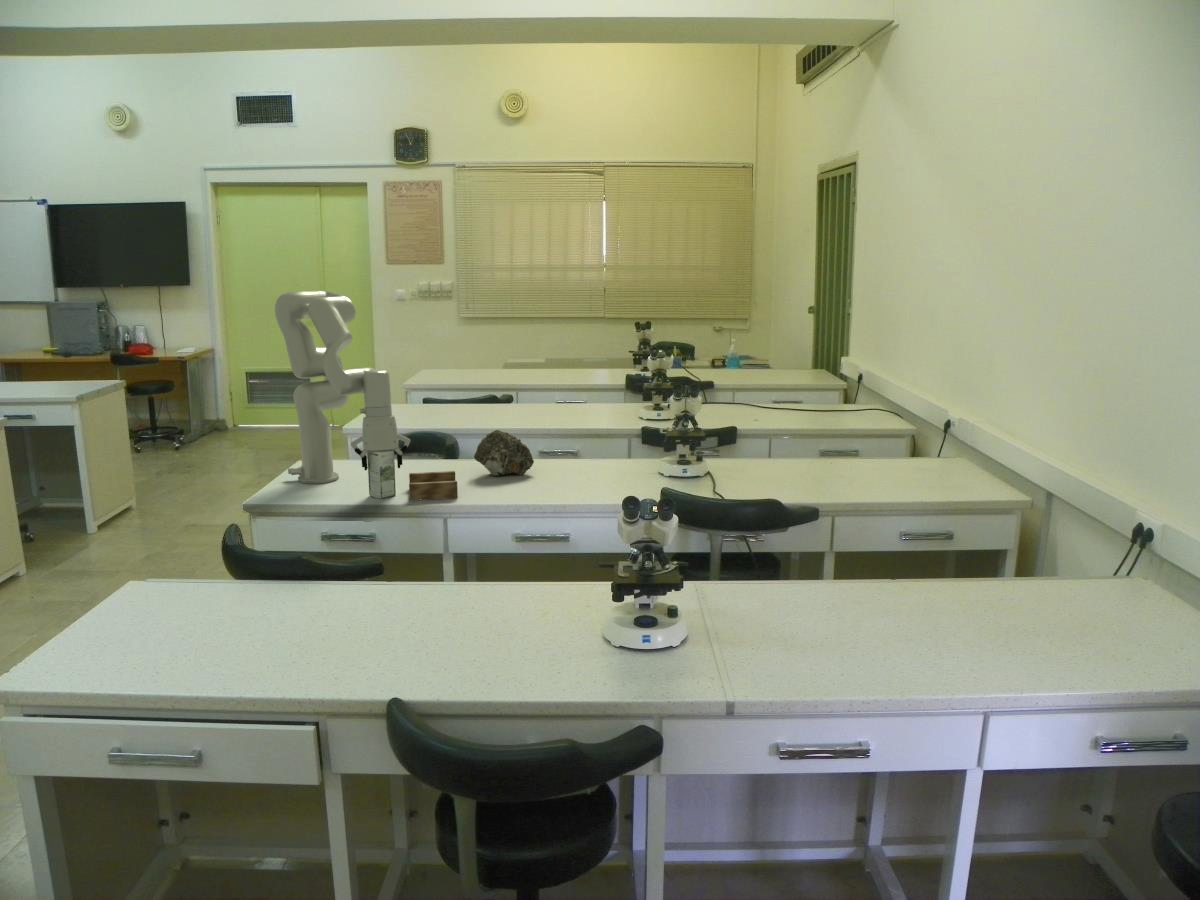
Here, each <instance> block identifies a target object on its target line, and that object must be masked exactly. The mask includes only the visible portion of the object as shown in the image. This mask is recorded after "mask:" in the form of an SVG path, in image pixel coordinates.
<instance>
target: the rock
mask: <svg viewBox="0 0 1200 900" xmlns="http://www.w3.org/2000/svg"><path fill="white" fill-rule="evenodd" d="M521 441H522V439H520V438H519V439H518V438H517V437H516V436H513V435H512V434H510V433H509V432H507V431H506V432H505V431H504V432H503V431H502V430H500V429H495V430H493V431H491V432H490V433H487V434H486V437H483V438H482V439H481V441H480V442H479V444H478V445H477V447H476V451H475V453H474V455H473V458H474V460H475V461H477V462H478V463H480V465H483V467H484V468H485V469H486V470H487V471H488V472H489V473H490V474H492V475H493V477H497V476H496V475H500V476H505V475H509V474H511V473H513V474H514V473H516V474H517V473H518V474H517V475H521V474H523V475H525V474H526V472H527V471H528V470H530V469H531V468H532V466H533V465H534V462H535V460H534V459H533V456H532V453H531V450H530V449H529V448H528V447H527V445H526V444H524V443H523V442H521Z"/></svg>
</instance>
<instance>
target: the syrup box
mask: <svg viewBox="0 0 1200 900" xmlns="http://www.w3.org/2000/svg"><path fill="white" fill-rule="evenodd" d="M366 456H367V467H368V468H367V474H368V493H369V495H370V496H369V495H368V496H369V497H371V496H373V497H372V498H375V497H376V499H379V498H380V500H383V499H387V498H390V497H391V498H392V497H395V496H396V489H397V488H396V467H395V466H396V465H395V464H396V462H395V450H385V451H368V452H367V453H366Z"/></svg>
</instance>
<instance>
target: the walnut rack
mask: <svg viewBox="0 0 1200 900" xmlns="http://www.w3.org/2000/svg"><path fill="white" fill-rule="evenodd" d="M408 474H409V475H408V477H409V478H408V479H409V482H408V483H409V484H408V488H409V489H408V491H409V501H410V500H413V501H425V500H424V499H431V500H442V499H441V498H450V499H458V497H459V496H458V495H459V494H458V481H457V480H456V470H449V471H447V470H446V471H445V470H444V471H429V472H427V471H426V472H424V471H423V472H409V473H408ZM420 499H422V500H420Z"/></svg>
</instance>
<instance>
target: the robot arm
mask: <svg viewBox="0 0 1200 900" xmlns="http://www.w3.org/2000/svg"><path fill="white" fill-rule="evenodd" d="M274 315H275V319H276V322H277V324H278V327H279V329H280V331H281V334H282V336H283V339H284V342H285V347H286V351H287V355H288V359H289V363H290V368H291V370H292V372H293V375H294V376H295V377H296V378H298V379H300V380H301V379H302V380H303V379H314V378H323V380H318V381H317V380H316V381H309V382H305V383H302V384H300V385H298V386H297V387H296V388H295V389H294V391H293V395H292V396H293V397H292V398H293V402H294V405H295V409H296V415H297V420H298V430H299V431H298V432H299V441H300V452H301V453H300V454H301V455H300V457H301V466H298V467H297V468H295V467H289V468H287V474H288V475H291V476H296V475H298V476H297V482H300V483H301V484H308V485H309V484H312V485H313V484H314V485H315V484H316V485H319V484H325V483H332V482H335V481H337V480H338V479H339V478H340V477H339V473H337V472H334V461H333V445H332V433H331V425H330V422H329V419H328V418H327V416H326V415H325V414H324V412H326V411H330V410H336V409H341V408H343V407H345V406H346V405H347V404H348V402H349V397H350V396H353V395H358V394H363V396H364V397H363V399H364V407H362V408H359V409H360V414H364V415H365V416H364V417H363V419H362V428H361V429H362V433H361V434H362V435H361V436H360V437H358V438H356V439H354V440H353V441H351V442H350V446H351V447H352V449H353V450H354V453H356V454H357V455H358V456H360V458H361V467H362V468H363V469H364V471H368V456H367V452H368V451H385V450H394V452H396V459H397V460H396V461H397V464H396V465H397V469H401V466H403V453H405V452H406V451H407V449H408V447H409V445H410V444H411V438H408V437H407V436H404V435H401V434H399V433H398V427H397V420H396V418H395V417H396V416H395V415H394V414H393V412H392V400H391V399H392V398H391V397H392V396H391V395H392V394H391V384H390V374H389V372H388V371H387V370H385V369H376V368H373V367H367V366H366V367H357V368H350V369H349V368H348V369H347V368H346V369H344V366H343V362H342V359H341V357H340V355H339V353H340V352H342V351H344V350H345V349H347V347H349V346H350V345H351V343H352V342H353V339H354V338H353V334H352V332H351V331H350V328H349V327H348V325H347V324H348V323H352V322H353V321H354V320H355V318H356V315H357V313H356V308H355V305H354V303H353V302H352V300H351V299H350V298H349V297H347V296H345V295H342V294H338V293H334V292H331V291H327V290H301V291H299V290H298V291H297V290H296V291H289V292H285V293H282V294H281V295H279V296H278V298H277V299H276V301H275V305H274ZM302 319H304V320H305V319H311V322H312V324H313V325H314V327H315V329H316V331H317V333H318V334H319V336H320V338H321V340H322V342H323V344H324V346H316V345H315V344H316V343H315V341H314V337H313V333H312V331H311V330H310V328H309V327H308V326H307V325H306V324H305V323H304V322H303V321H302ZM399 441H402V442H404V444H403V446H401V447H400V446H399ZM360 443H362V447H363V449H360V448H359V447H358V444H360ZM334 480H335V481H334Z"/></svg>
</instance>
